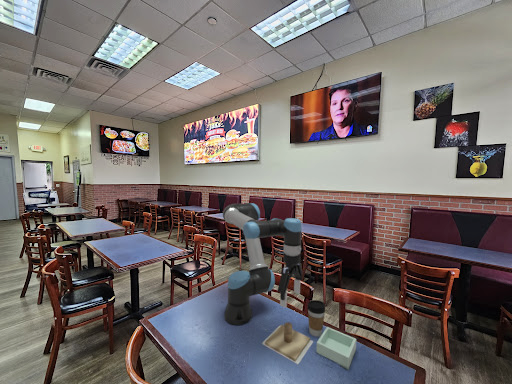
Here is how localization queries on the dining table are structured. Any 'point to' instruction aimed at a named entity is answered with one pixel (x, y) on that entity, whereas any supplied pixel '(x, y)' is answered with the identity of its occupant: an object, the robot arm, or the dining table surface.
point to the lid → (288, 341)
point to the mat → (300, 354)
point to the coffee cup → (316, 317)
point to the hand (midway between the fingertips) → (290, 299)
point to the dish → (337, 347)
